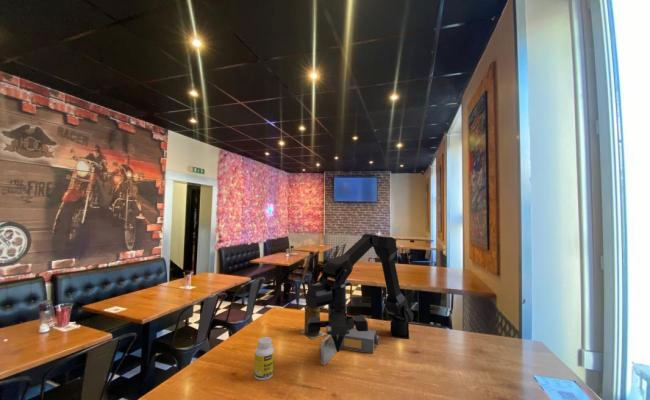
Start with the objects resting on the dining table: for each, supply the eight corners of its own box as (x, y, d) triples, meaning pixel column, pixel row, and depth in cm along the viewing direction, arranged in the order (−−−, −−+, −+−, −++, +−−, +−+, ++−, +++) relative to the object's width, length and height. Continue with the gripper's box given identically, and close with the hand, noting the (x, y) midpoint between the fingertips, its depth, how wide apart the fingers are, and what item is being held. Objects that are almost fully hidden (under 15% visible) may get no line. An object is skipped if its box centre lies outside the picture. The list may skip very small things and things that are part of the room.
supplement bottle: (263, 383, 73) (264, 346, 73) (250, 376, 75) (251, 341, 76) (277, 373, 77) (278, 338, 78) (263, 367, 80) (264, 334, 81)
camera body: (379, 343, 97) (379, 323, 97) (376, 355, 88) (376, 333, 88) (342, 338, 101) (342, 318, 101) (336, 349, 92) (336, 327, 92)
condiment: (313, 327, 110) (314, 298, 111) (327, 334, 104) (327, 303, 105) (299, 332, 106) (299, 301, 107) (312, 339, 99) (312, 306, 100)
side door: (324, 365, 81) (324, 341, 82) (319, 364, 82) (319, 340, 83) (338, 349, 91) (338, 328, 92) (334, 348, 92) (334, 327, 93)
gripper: (307, 311, 77) (307, 367, 76) (371, 309, 77) (372, 364, 76) (308, 299, 88) (308, 347, 87) (364, 297, 88) (365, 345, 88)
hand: (337, 351), depth 84 cm, fingers closed
